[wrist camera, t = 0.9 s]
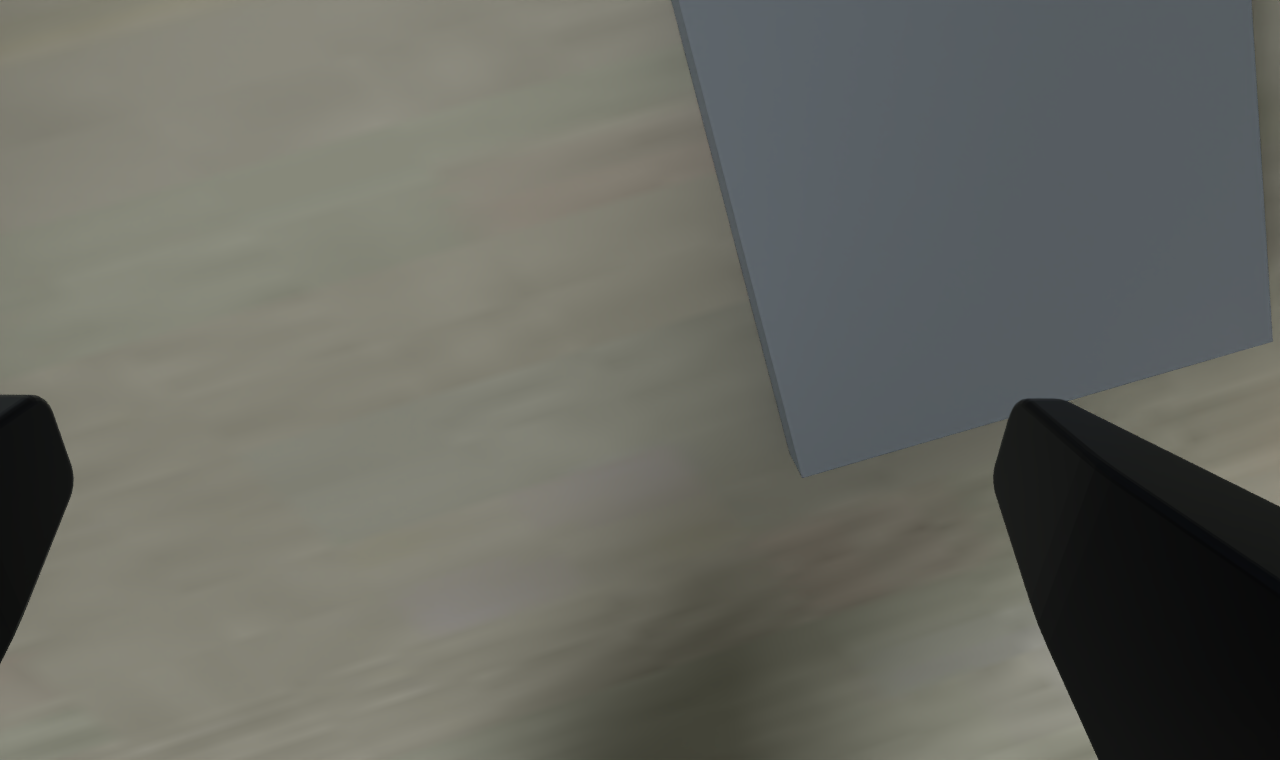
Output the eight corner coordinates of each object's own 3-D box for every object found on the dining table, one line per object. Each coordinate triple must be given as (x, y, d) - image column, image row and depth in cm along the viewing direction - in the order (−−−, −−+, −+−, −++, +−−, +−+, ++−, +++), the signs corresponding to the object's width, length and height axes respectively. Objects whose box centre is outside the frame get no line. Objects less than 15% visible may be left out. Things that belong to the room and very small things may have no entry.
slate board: (1232, 324, 24) (1272, 341, 23) (789, 454, 25) (802, 477, 23) (1193, -181, 20) (1238, -198, 19) (667, -15, 21) (673, -20, 19)
